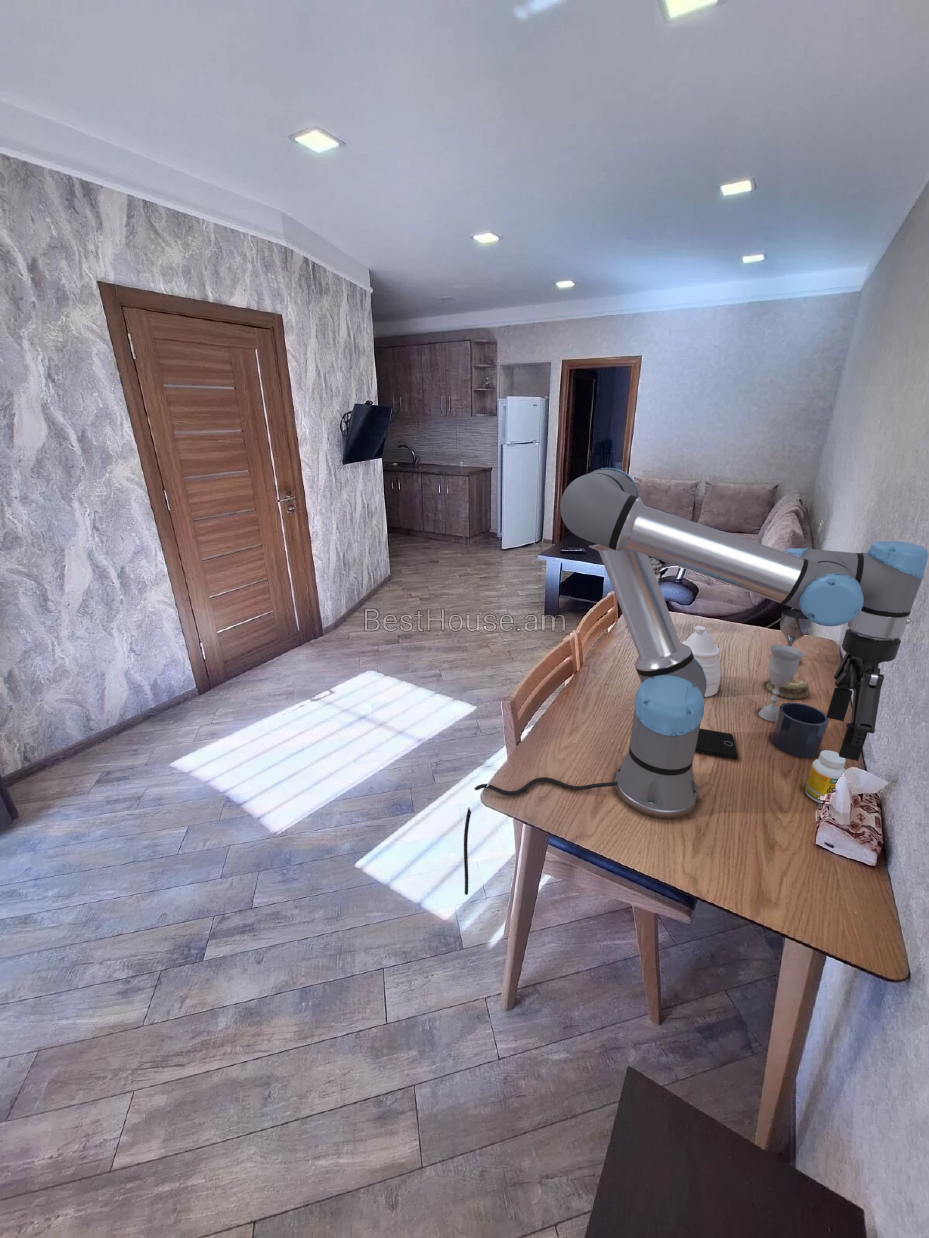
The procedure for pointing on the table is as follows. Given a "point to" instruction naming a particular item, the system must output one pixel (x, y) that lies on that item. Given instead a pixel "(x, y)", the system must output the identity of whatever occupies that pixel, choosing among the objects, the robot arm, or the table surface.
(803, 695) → the cake
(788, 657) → the chalice
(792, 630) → the wine glass
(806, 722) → the cup
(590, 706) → the table surface
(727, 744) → the cell phone
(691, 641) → the honey pot
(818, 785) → the supplement bottle
